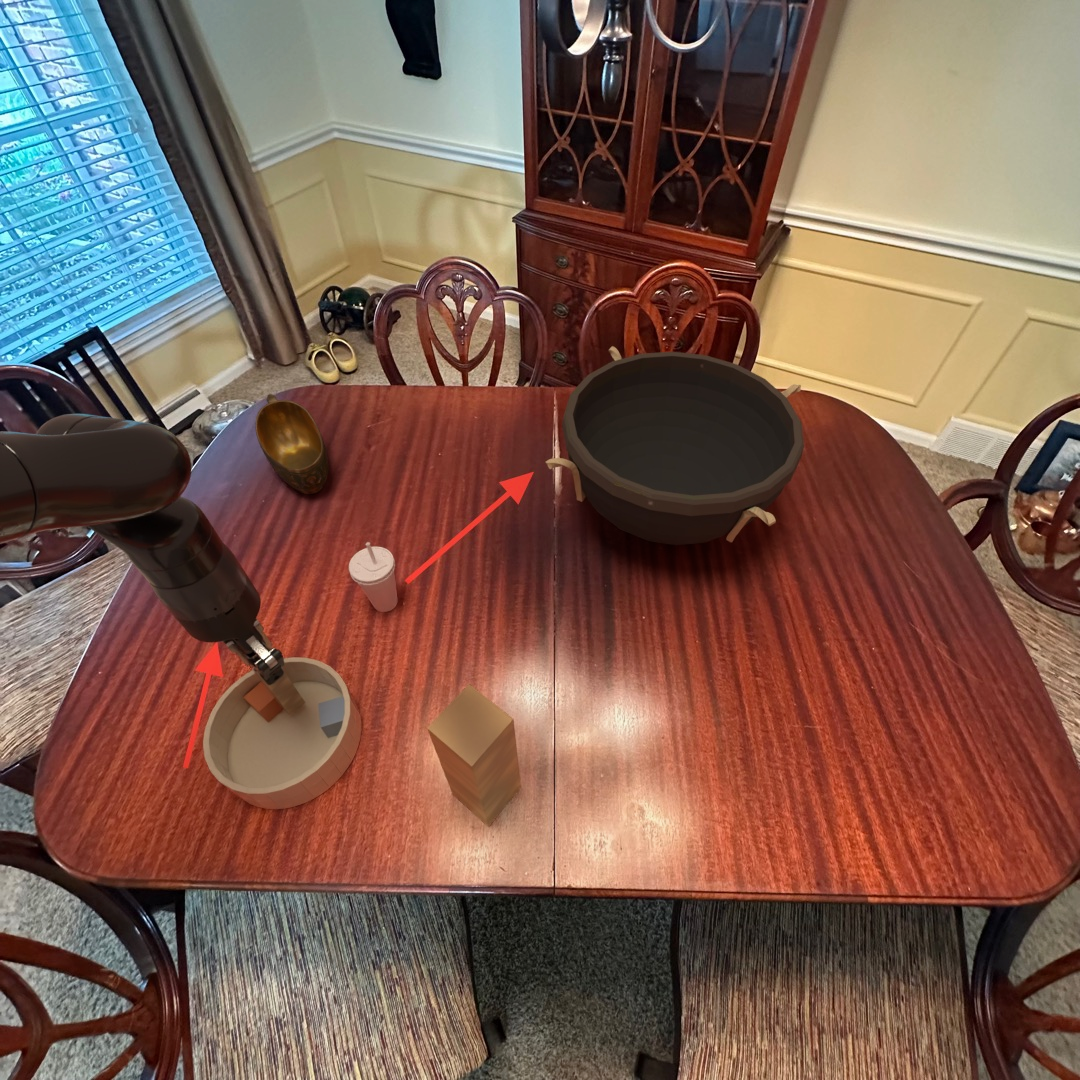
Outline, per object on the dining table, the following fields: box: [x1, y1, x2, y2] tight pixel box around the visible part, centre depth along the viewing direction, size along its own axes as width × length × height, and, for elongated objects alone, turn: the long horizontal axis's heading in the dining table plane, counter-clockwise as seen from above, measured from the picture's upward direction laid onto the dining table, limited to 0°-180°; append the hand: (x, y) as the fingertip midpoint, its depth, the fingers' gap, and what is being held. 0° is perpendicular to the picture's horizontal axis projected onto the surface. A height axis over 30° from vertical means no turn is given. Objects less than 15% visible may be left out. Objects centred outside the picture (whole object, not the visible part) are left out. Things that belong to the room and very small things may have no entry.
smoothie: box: [348, 541, 399, 613], centre depth 87 cm, size 6×6×14 cm
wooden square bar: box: [241, 651, 305, 716], centre depth 74 cm, size 2×2×14 cm
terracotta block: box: [244, 681, 283, 722], centre depth 79 cm, size 3×3×3 cm
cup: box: [254, 393, 329, 495], centre depth 108 cm, size 13×20×10 cm, turn 4°
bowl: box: [545, 345, 805, 546], centre depth 96 cm, size 35×35×20 cm
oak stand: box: [426, 683, 522, 828], centre depth 66 cm, size 6×6×20 cm
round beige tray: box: [202, 656, 362, 810], centre depth 76 cm, size 17×17×6 cm
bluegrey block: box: [318, 696, 345, 738], centre depth 78 cm, size 3×3×3 cm
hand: (268, 671), depth 73 cm, fingers closed on wooden square bar, 2 cm apart
